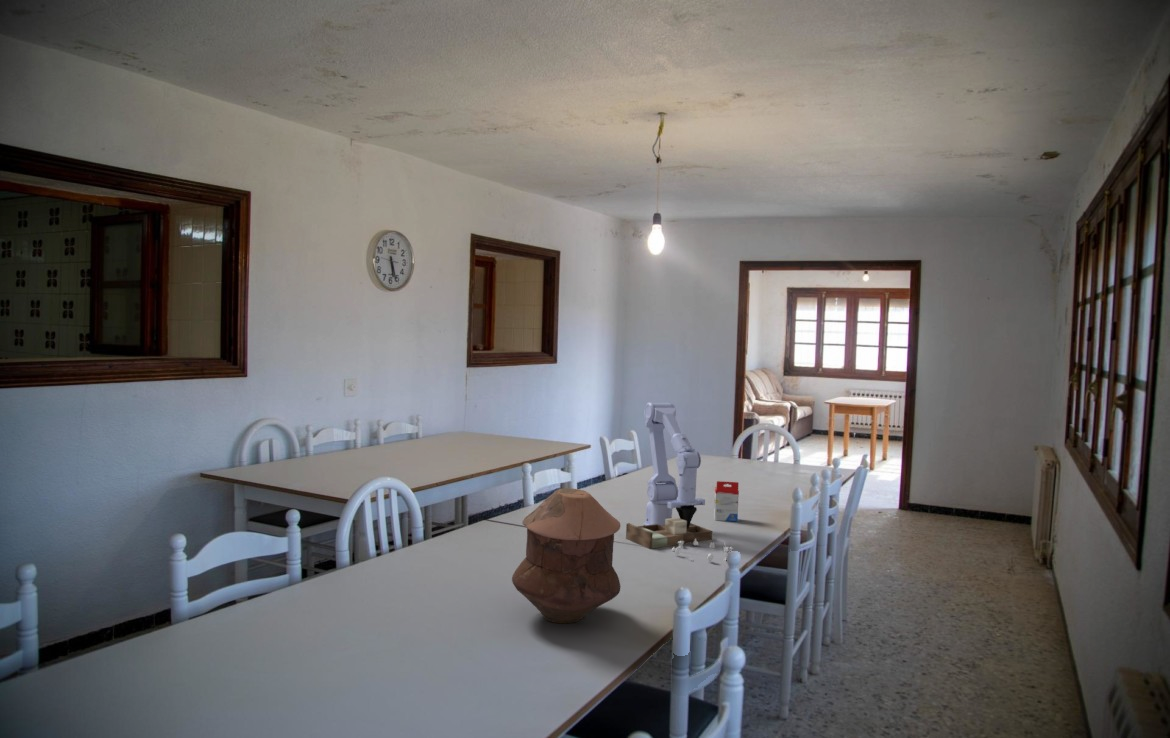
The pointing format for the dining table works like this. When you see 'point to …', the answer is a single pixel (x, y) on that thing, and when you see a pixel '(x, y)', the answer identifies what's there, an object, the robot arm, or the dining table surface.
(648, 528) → the trap board
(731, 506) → the ink box
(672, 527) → the birch block
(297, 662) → the dining table surface
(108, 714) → the dining table surface
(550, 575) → the pottery vessel
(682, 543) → the game piece set
